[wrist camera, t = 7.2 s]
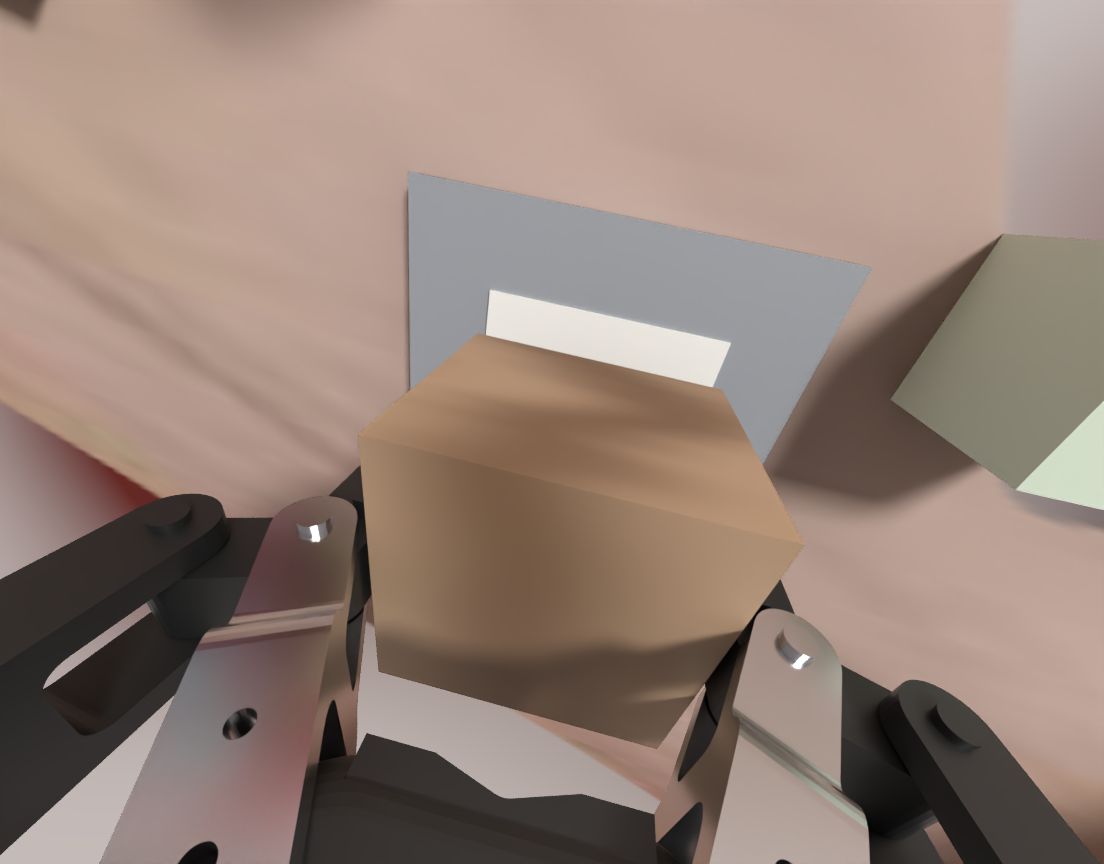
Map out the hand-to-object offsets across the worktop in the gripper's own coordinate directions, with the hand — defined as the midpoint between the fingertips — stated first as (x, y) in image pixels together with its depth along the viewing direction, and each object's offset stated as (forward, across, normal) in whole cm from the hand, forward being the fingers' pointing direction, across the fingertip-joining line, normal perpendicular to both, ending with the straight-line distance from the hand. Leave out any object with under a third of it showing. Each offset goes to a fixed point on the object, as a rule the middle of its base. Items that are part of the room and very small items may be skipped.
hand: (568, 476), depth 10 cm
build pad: (+4, 0, 0) cm, 4 cm away
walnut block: (+1, 0, 0) cm, 1 cm away
